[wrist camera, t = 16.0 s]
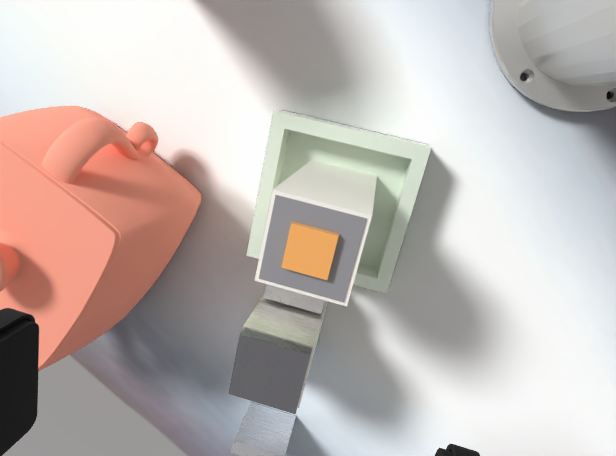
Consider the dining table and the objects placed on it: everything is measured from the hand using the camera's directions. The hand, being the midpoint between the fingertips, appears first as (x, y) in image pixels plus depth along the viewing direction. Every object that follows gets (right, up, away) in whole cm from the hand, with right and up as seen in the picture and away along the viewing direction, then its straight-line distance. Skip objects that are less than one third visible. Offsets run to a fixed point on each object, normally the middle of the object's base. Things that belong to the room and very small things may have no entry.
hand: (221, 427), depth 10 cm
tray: (+4, +7, +24) cm, 26 cm away
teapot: (-17, +8, +28) cm, 34 cm away
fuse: (+4, +7, +23) cm, 25 cm away
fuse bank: (0, -6, +29) cm, 29 cm away
